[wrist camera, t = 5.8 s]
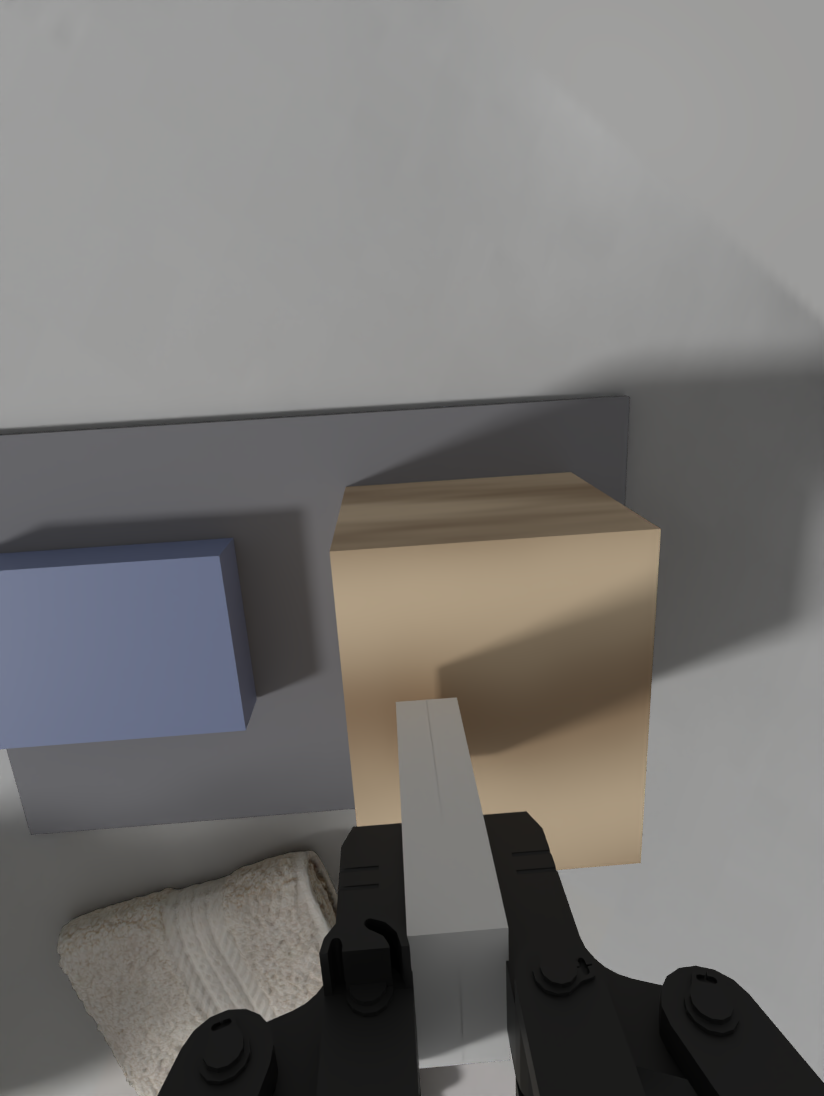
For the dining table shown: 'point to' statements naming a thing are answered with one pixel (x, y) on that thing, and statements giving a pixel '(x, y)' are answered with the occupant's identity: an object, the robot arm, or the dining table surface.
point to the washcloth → (199, 958)
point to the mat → (258, 577)
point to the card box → (122, 643)
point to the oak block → (504, 647)
